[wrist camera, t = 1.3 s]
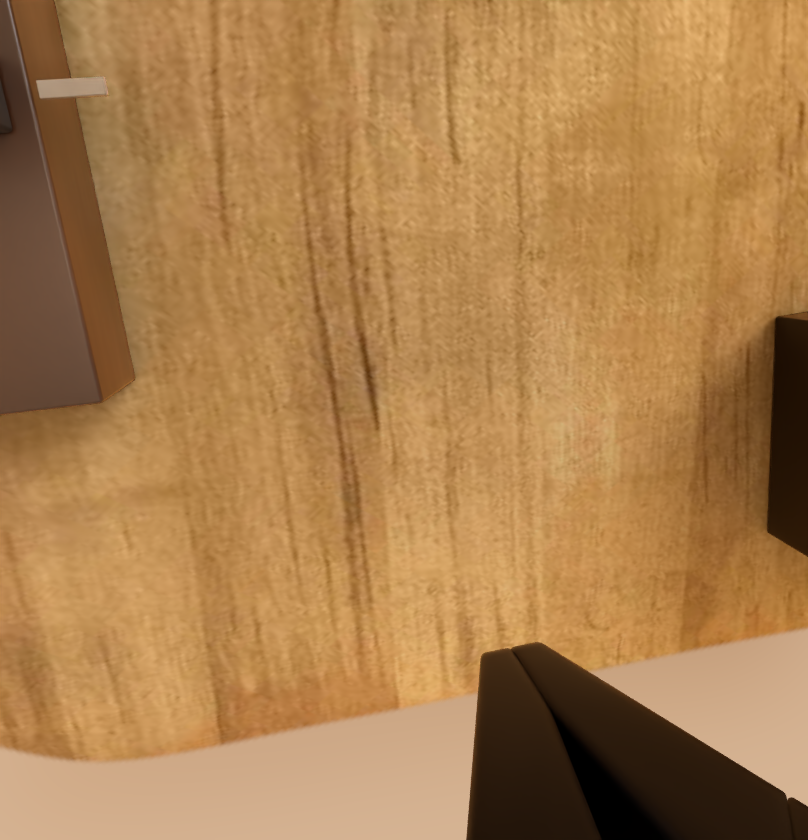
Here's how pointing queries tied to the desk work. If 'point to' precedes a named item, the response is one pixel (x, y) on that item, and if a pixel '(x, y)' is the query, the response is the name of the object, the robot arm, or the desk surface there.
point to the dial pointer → (4, 114)
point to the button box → (790, 434)
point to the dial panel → (51, 230)
